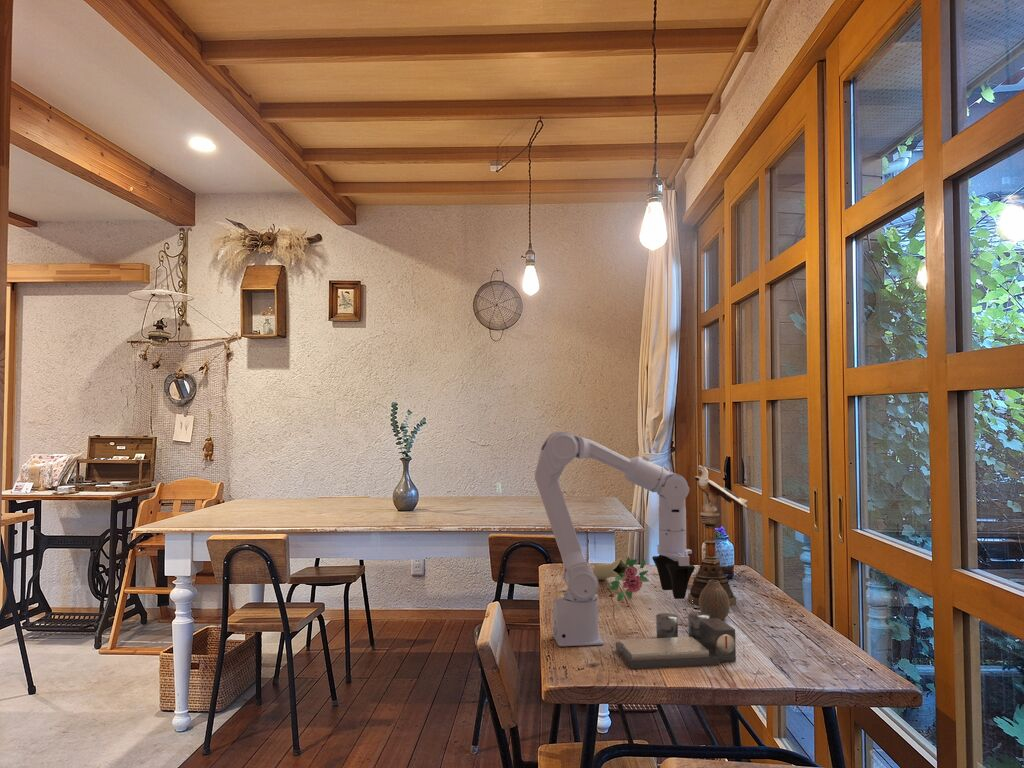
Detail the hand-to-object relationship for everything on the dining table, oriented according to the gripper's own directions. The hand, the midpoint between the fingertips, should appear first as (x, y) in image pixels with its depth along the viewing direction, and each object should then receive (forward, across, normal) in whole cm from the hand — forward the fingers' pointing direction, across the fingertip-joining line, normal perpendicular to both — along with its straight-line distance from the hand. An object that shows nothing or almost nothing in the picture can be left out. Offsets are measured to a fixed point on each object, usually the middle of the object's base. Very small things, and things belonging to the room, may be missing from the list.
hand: (673, 594), depth 153 cm
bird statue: (+9, +30, -23) cm, 38 cm away
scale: (+9, -11, +4) cm, 15 cm away
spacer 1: (+9, 0, +2) cm, 10 cm away
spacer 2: (+9, 0, -6) cm, 11 cm away
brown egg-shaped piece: (+10, +14, -15) cm, 22 cm away
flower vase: (+10, +42, +1) cm, 43 cm away
